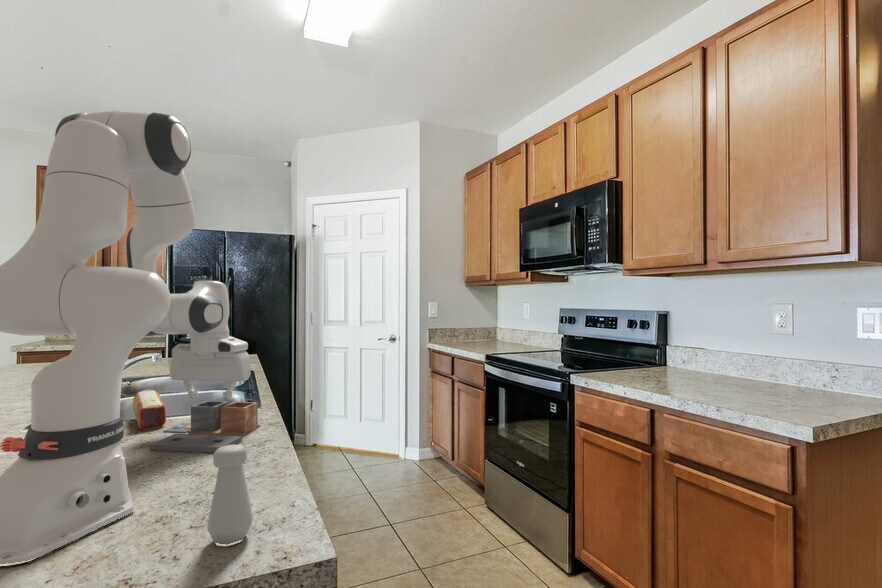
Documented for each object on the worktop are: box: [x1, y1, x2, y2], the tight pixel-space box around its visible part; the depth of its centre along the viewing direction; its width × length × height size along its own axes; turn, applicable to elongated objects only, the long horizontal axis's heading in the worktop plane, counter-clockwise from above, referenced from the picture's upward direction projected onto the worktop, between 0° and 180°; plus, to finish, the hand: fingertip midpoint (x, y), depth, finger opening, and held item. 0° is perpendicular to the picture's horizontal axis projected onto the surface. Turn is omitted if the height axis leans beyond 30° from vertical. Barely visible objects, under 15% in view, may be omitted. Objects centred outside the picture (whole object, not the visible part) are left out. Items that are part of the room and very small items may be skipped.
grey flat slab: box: [149, 433, 243, 454], centre depth 104 cm, size 8×17×1 cm, turn 83°
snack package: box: [132, 389, 167, 431], centre depth 125 cm, size 21×7×7 cm, turn 36°
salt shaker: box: [206, 444, 254, 545], centre depth 64 cm, size 6×6×13 cm
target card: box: [163, 422, 191, 434], centre depth 117 cm, size 7×6×1 cm
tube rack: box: [187, 400, 261, 437], centre depth 115 cm, size 8×14×7 cm, turn 83°
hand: (210, 398), depth 115 cm, fingers open, 8 cm apart
